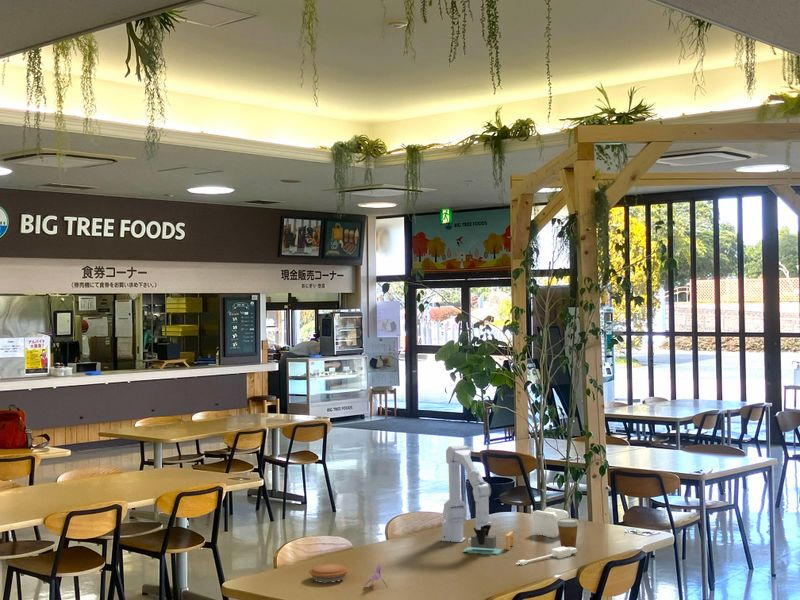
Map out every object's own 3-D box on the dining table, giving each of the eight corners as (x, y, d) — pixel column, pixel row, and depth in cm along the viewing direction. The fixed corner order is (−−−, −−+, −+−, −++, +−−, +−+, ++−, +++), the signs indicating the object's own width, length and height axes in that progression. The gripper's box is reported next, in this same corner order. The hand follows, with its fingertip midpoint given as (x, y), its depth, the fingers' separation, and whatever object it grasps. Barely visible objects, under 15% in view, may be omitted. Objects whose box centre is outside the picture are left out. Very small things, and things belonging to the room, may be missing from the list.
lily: (387, 583, 371) (375, 561, 372) (403, 577, 362) (391, 555, 363) (365, 599, 363) (353, 576, 364) (381, 593, 354) (368, 570, 356)
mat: (462, 552, 415) (462, 551, 415) (467, 548, 423) (467, 547, 423) (498, 554, 410) (498, 553, 410) (503, 550, 417) (503, 549, 417)
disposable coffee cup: (578, 545, 426) (577, 517, 426) (580, 550, 416) (579, 522, 417) (556, 544, 427) (556, 517, 427) (558, 549, 417) (557, 522, 418)
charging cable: (513, 566, 394) (512, 558, 394) (569, 552, 412) (569, 544, 412) (521, 569, 390) (521, 561, 390) (578, 554, 408) (577, 546, 408)
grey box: (467, 547, 416) (467, 536, 417) (470, 544, 421) (470, 534, 421) (493, 548, 412) (493, 538, 413) (496, 546, 417) (495, 535, 417)
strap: (505, 549, 419) (505, 535, 419) (510, 544, 427) (510, 531, 427) (509, 549, 418) (509, 535, 418) (513, 545, 426) (513, 531, 426)
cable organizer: (570, 536, 444) (570, 511, 444) (555, 539, 437) (554, 514, 438) (546, 531, 456) (546, 506, 456) (531, 534, 449) (530, 509, 449)
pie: (328, 572, 386) (328, 560, 386) (356, 578, 376) (356, 565, 376) (300, 580, 374) (300, 567, 374) (329, 587, 364) (329, 573, 364)
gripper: (486, 515, 409) (487, 547, 408) (495, 509, 422) (495, 540, 422) (470, 514, 411) (471, 546, 411) (479, 508, 425) (480, 539, 424)
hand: (482, 543), depth 416 cm, fingers closed on grey box, 4 cm apart
